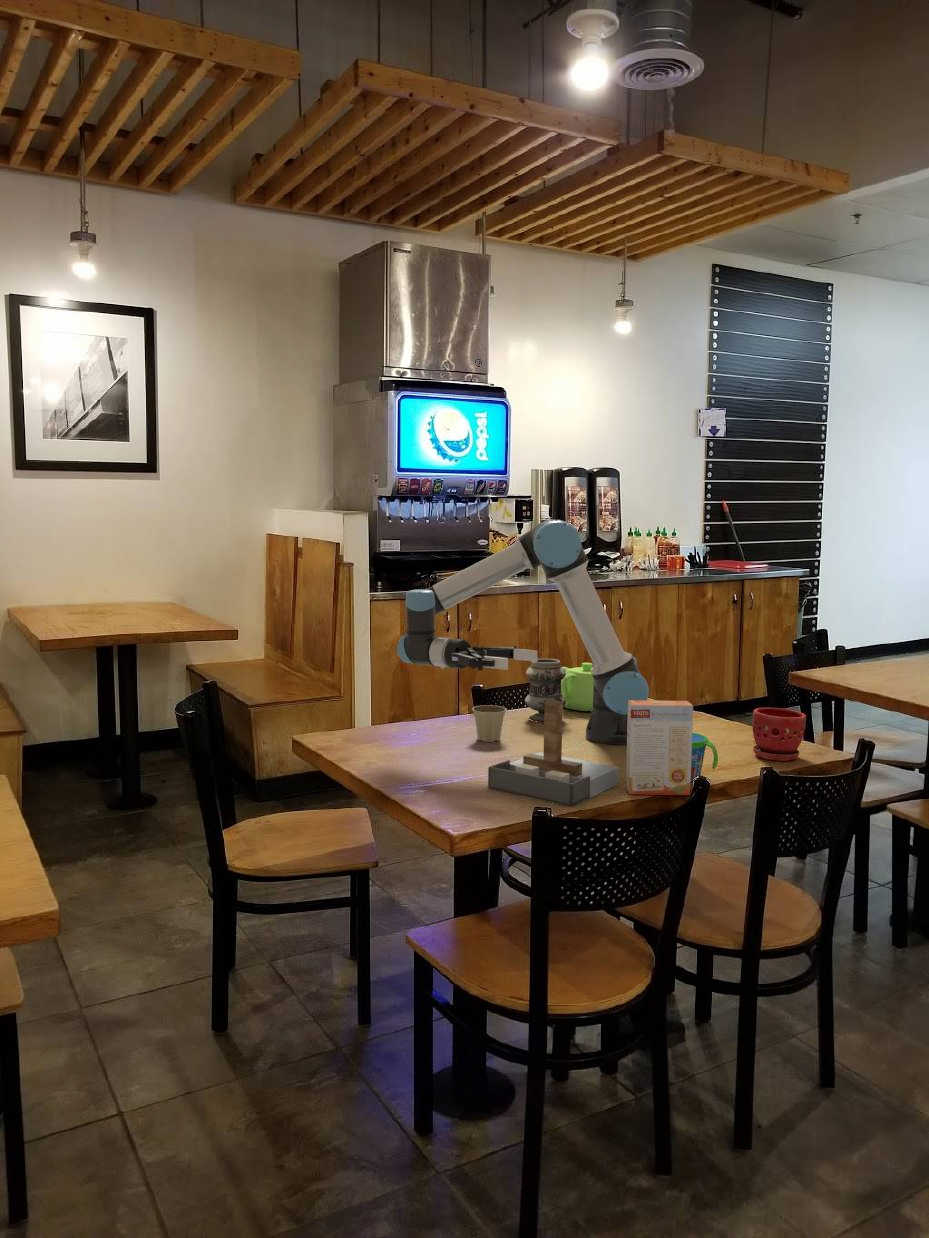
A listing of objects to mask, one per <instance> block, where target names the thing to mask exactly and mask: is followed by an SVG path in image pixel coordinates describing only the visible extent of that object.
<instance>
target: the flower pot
mask: <svg viewBox="0 0 929 1238" xmlns="http://www.w3.org/2000/svg"><path fill="white" fill-rule="evenodd" d="M471 710H472V712H473V716H474V719H475V728H476V736H477V740H478V741H482V742H485V743H494V741H495V742H496V741H497V742H498V741H500V740H501V736H502V728H503V722H504V717H505V715H506V712H507V708H506V707H504V706H500V705H492V704H491V705H490V704H489V705H486V704H484V705H476V706H473V707H472V709H471Z"/></svg>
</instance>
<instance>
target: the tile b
mask: <svg viewBox="0 0 929 1238" xmlns="http://www.w3.org/2000/svg"><path fill="white" fill-rule="evenodd" d="M545 778H548V779H553V780H558V781H563V782H568V783H569V774H568V773H563V772H558V771H553V770H552V771H549V772H547V773H545Z"/></svg>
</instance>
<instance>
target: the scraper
mask: <svg viewBox="0 0 929 1238" xmlns="http://www.w3.org/2000/svg"><path fill="white" fill-rule="evenodd" d="M563 708H564V707H563V702H561V701H554V700H550V701H547V702H545V713H544V723H543V731H544V732H543V753H544V756H541V755H536V753H527V754H525V755H523V756H522V758H523V764H527V765H532V766H537V767H539V770H543V771H548V772H549V771H552V770H553V771H558V772H563V773H568V774H569V776H573V777H577V776H579V775H581V774H582V763H578V762H573V761H567V760H562V759H561V756H562V757H563V755H562V753H563V752H562V751H563V749H562V748H563V745H562V744H563V715H564V713H563Z"/></svg>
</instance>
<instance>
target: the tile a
mask: <svg viewBox="0 0 929 1238" xmlns="http://www.w3.org/2000/svg"><path fill="white" fill-rule="evenodd" d="M515 772H519V773H524V774H529V775H534V776H539V767H537V766H532V765H527V764H520V765H518V766H516V770H515Z"/></svg>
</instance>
